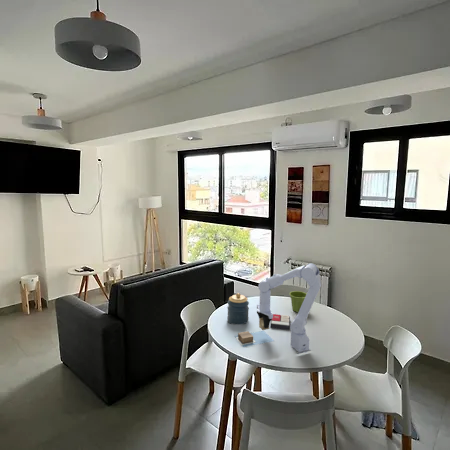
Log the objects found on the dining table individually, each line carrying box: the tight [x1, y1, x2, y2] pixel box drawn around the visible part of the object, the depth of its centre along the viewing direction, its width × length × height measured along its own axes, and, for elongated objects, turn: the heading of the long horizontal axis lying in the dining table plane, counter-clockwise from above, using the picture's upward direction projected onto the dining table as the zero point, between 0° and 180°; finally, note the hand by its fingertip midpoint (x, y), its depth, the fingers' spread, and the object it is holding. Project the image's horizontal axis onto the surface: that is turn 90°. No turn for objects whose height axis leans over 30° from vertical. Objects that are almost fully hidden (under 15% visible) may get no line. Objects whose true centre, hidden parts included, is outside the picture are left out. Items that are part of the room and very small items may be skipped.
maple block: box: [258, 317, 270, 331], centre depth 162 cm, size 4×4×5 cm
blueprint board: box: [234, 330, 275, 348], centre depth 161 cm, size 12×18×1 cm, turn 111°
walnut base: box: [237, 330, 253, 344], centre depth 159 cm, size 6×6×3 cm
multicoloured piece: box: [269, 313, 291, 331], centre depth 179 cm, size 11×4×15 cm
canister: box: [226, 292, 250, 325], centre depth 182 cm, size 13×13×18 cm
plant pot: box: [289, 290, 307, 313], centre depth 199 cm, size 12×12×11 cm
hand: (264, 325), depth 162 cm, fingers closed on maple block, 4 cm apart
